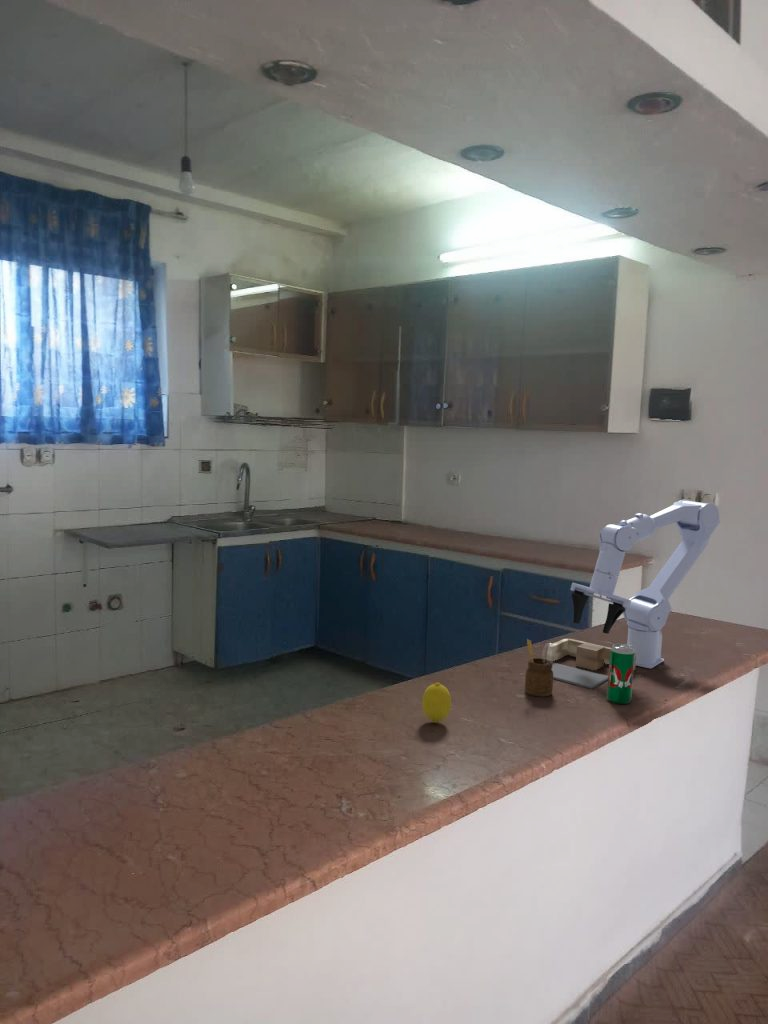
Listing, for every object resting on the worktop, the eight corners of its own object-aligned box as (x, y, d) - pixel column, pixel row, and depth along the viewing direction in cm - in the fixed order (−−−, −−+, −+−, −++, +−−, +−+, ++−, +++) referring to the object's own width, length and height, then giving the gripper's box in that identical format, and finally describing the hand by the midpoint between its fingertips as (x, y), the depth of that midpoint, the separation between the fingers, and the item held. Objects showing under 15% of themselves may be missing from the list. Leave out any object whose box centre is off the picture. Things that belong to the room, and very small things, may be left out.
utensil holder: (557, 696, 168) (561, 641, 166) (532, 698, 165) (535, 643, 164) (543, 687, 173) (546, 634, 172) (518, 689, 171) (521, 636, 170)
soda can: (628, 697, 168) (632, 643, 167) (633, 706, 163) (637, 650, 162) (604, 695, 169) (608, 642, 167) (608, 704, 164) (613, 648, 162)
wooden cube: (584, 662, 193) (585, 642, 193) (603, 666, 190) (605, 646, 190) (575, 666, 189) (577, 646, 189) (594, 671, 186) (596, 650, 186)
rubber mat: (551, 663, 190) (551, 661, 190) (609, 678, 181) (610, 676, 181) (531, 673, 182) (531, 671, 182) (591, 688, 173) (591, 686, 173)
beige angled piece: (565, 653, 200) (566, 637, 199) (635, 669, 188) (636, 653, 188) (546, 661, 192) (547, 645, 192) (618, 679, 181) (619, 662, 180)
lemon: (453, 720, 151) (456, 681, 150) (443, 730, 146) (446, 689, 145) (427, 715, 153) (429, 676, 152) (416, 724, 148) (418, 684, 147)
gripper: (572, 563, 188) (556, 617, 188) (629, 580, 179) (613, 637, 179) (583, 566, 193) (568, 619, 194) (639, 583, 185) (623, 638, 185)
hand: (590, 628), depth 187 cm, fingers open, 7 cm apart
